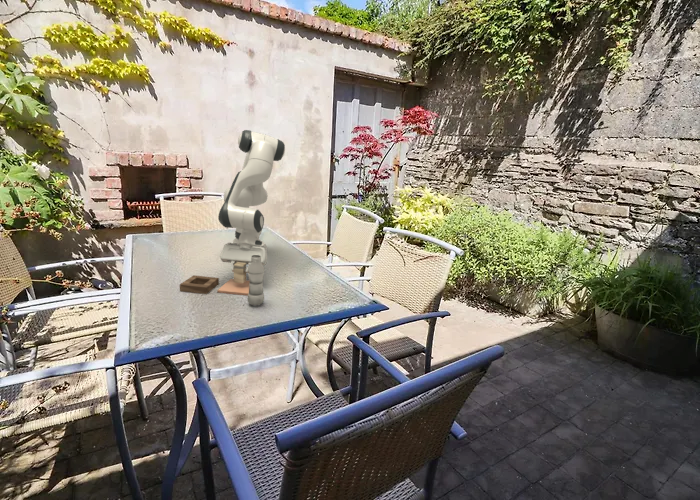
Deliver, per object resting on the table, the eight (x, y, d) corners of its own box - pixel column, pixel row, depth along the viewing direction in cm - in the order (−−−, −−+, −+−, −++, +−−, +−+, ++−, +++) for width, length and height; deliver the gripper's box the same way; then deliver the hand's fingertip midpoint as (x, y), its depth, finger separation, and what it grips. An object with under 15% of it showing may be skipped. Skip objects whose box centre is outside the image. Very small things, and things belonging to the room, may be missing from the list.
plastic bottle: (247, 308, 136) (247, 259, 131) (247, 300, 142) (247, 253, 137) (264, 307, 138) (265, 258, 133) (263, 300, 144) (264, 253, 139)
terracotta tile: (230, 280, 161) (230, 278, 161) (260, 283, 161) (260, 281, 160) (217, 292, 148) (217, 290, 148) (249, 295, 147) (249, 293, 147)
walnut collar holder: (193, 281, 157) (193, 275, 156) (218, 284, 157) (218, 277, 156) (179, 291, 146) (179, 284, 145) (206, 294, 146) (206, 287, 145)
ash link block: (237, 279, 155) (237, 261, 153) (246, 280, 155) (246, 262, 153) (233, 282, 152) (233, 264, 149) (243, 283, 151) (242, 265, 149)
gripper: (222, 238, 156) (213, 266, 149) (268, 242, 155) (260, 270, 148) (227, 245, 162) (218, 272, 155) (270, 249, 161) (264, 277, 154)
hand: (239, 271), depth 152 cm, fingers closed on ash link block, 4 cm apart
